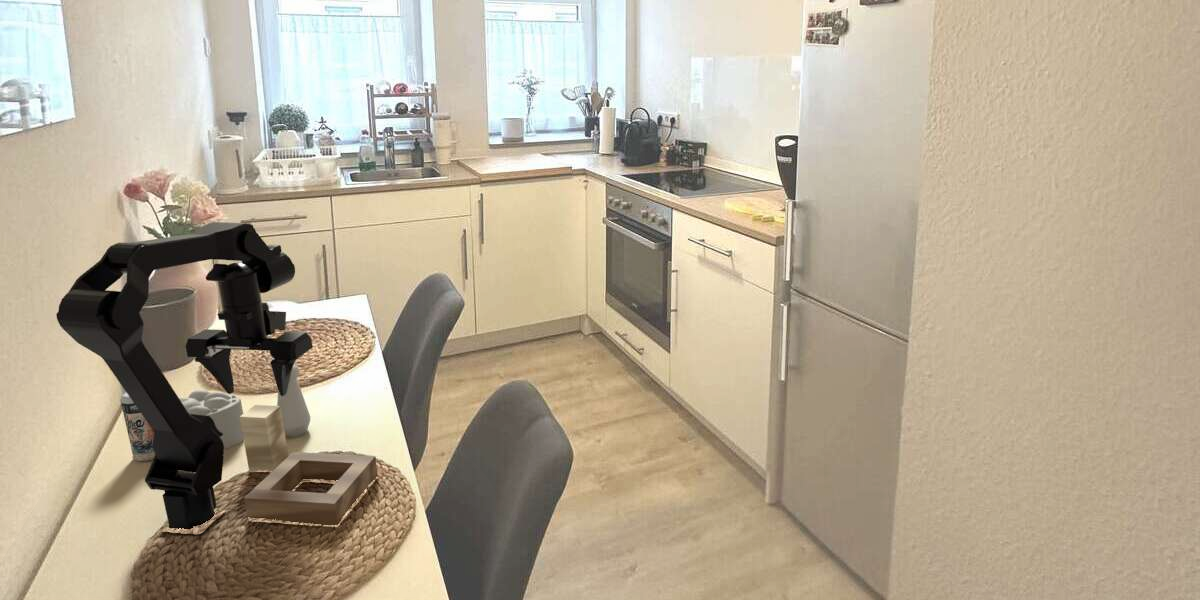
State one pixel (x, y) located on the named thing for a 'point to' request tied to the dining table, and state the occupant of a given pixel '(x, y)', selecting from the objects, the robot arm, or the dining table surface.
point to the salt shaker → (294, 407)
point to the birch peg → (264, 437)
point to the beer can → (137, 430)
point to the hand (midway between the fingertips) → (257, 394)
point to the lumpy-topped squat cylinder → (218, 413)
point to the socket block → (307, 507)
